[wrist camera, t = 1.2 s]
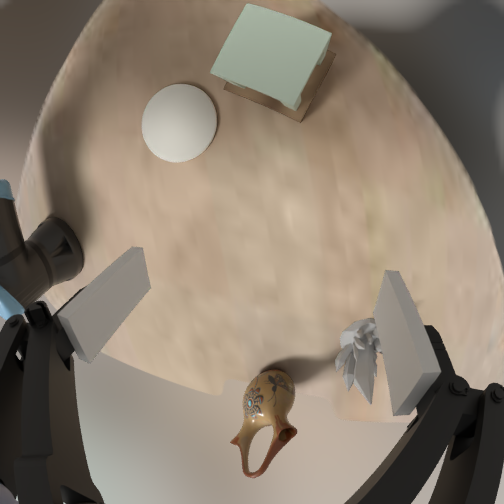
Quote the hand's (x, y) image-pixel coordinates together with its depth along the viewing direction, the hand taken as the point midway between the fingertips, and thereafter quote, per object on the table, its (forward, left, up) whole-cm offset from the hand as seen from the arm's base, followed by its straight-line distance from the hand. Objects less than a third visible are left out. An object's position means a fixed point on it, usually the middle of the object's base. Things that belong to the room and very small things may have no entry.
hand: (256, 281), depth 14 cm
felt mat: (-18, +1, -26) cm, 32 cm away
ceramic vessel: (+17, -38, -26) cm, 49 cm away
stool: (-7, +13, -21) cm, 26 cm away
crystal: (+27, -18, -27) cm, 42 cm away
